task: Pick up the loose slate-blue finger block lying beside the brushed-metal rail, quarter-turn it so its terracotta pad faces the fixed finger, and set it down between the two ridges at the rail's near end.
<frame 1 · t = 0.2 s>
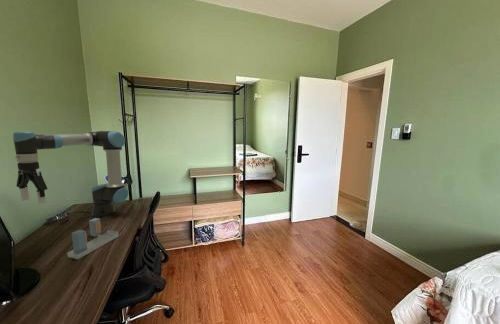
hand: (33, 201, 109), 27 cm above the table, fingers open, 13 cm apart
rail: (95, 245, 117), on the table
finger: (96, 234, 129), on the table
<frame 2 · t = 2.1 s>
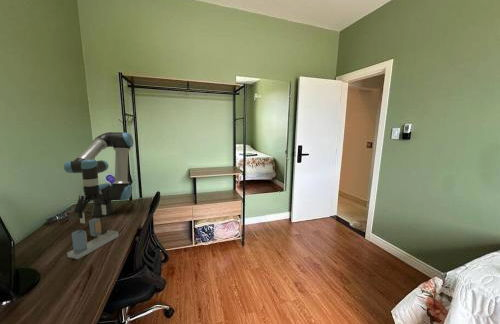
hand: (94, 218, 127), 11 cm above the table, fingers open, 13 cm apart
nothing on the table moved.
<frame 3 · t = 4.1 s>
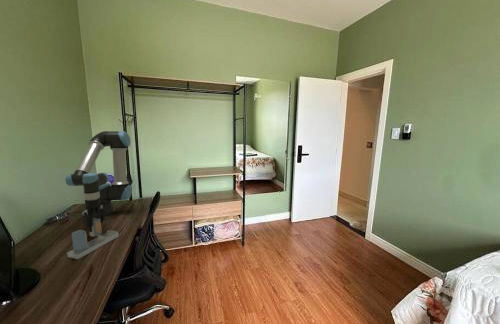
hand: (96, 234, 129), 0 cm above the table, fingers closed on finger, 4 cm apart
finger: (96, 234, 129), on the table, touching gripper
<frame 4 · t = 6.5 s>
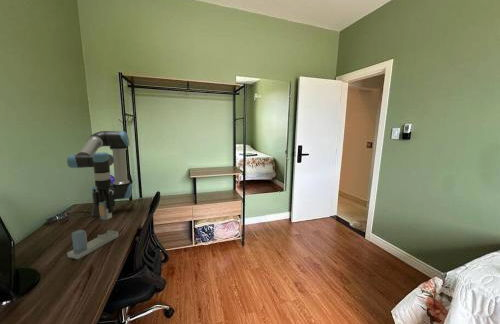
hand: (106, 217, 122), 14 cm above the table, fingers closed on finger, 4 cm apart
finger: (106, 217, 122), point 13 cm above the table, touching gripper
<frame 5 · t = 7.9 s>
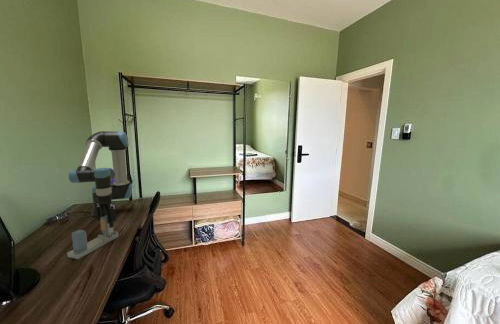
hand: (107, 231, 124), 5 cm above the table, fingers closed on finger, 4 cm apart
finger: (107, 232, 124), point 4 cm above the table, touching gripper
when the fingers open (3 cm above the table, at t = 8.9 s): finger stays where it is, resting on rail.
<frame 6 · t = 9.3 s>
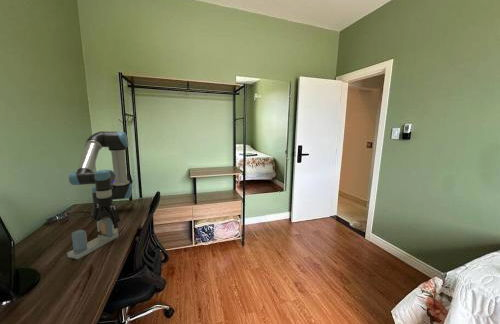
hand: (107, 231, 124), 5 cm above the table, fingers open, 10 cm apart
finger: (108, 235, 124), point 2 cm above the table, touching rail
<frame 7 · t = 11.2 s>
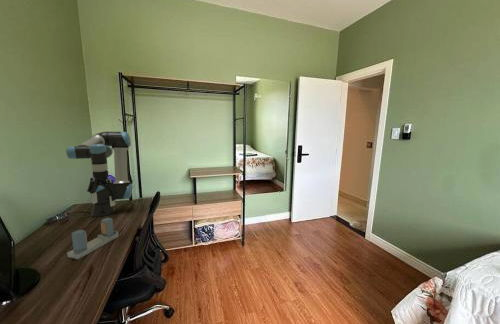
hand: (103, 204, 126), 20 cm above the table, fingers open, 13 cm apart
nothing on the table moved.
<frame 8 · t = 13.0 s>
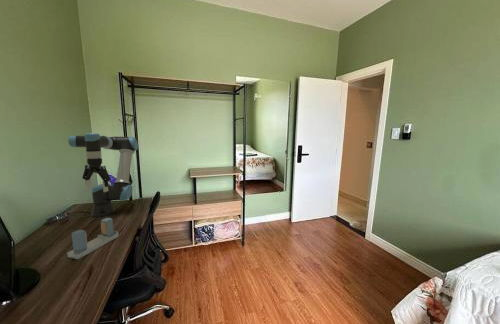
hand: (97, 190, 132), 27 cm above the table, fingers open, 13 cm apart
nothing on the table moved.
at the end: finger 0.0 cm from the target spot on the rail, point 2.5 cm above the rail's base; finger tilted 0°; the gripper is holding nothing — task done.
